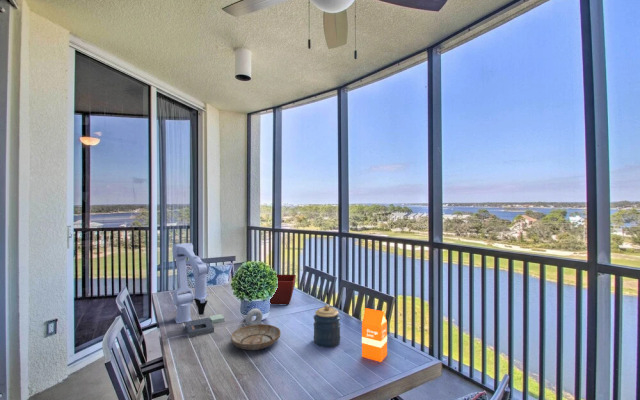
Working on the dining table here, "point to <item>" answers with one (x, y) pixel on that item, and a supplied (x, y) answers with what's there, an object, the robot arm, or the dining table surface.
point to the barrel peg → (200, 315)
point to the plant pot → (284, 289)
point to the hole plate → (199, 327)
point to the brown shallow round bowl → (255, 336)
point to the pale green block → (216, 318)
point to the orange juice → (374, 335)
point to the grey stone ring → (251, 314)
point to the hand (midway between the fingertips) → (200, 313)
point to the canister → (326, 327)
